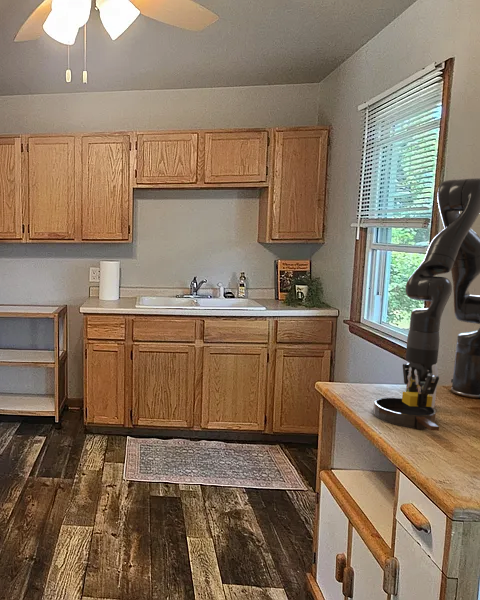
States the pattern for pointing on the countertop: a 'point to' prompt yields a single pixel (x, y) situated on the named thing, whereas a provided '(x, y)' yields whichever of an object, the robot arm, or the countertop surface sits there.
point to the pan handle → (425, 424)
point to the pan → (401, 412)
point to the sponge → (414, 399)
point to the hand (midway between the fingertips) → (416, 403)
